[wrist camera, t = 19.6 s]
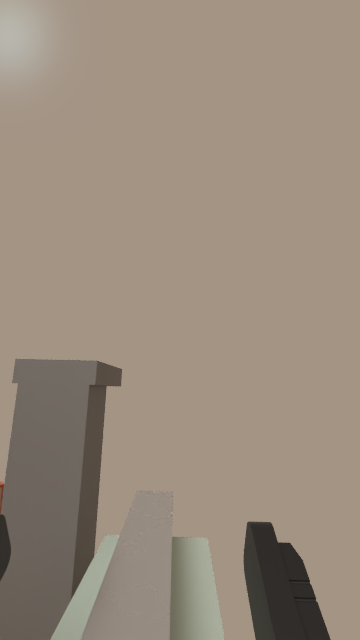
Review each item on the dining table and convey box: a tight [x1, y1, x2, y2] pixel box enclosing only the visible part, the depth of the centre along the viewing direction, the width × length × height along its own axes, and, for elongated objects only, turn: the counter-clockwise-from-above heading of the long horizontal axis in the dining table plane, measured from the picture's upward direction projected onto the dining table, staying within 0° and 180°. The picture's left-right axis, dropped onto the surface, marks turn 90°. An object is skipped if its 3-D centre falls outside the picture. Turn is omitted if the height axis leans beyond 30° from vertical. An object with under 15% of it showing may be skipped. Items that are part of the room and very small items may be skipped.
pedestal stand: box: [0, 359, 122, 640], centre depth 28 cm, size 11×7×32 cm, turn 0°
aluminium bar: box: [80, 491, 173, 640], centre depth 16 cm, size 20×3×3 cm, turn 1°
